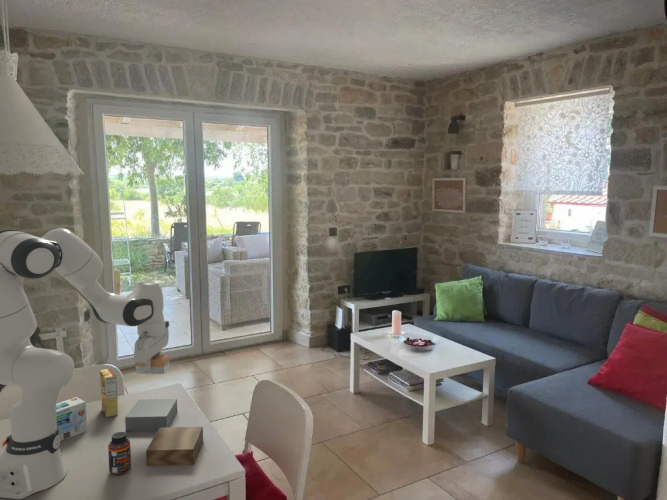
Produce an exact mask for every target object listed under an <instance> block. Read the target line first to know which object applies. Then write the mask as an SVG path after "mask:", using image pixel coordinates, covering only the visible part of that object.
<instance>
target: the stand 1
mask: <svg viewBox="0 0 667 500" xmlns="http://www.w3.org/2000/svg"><path fill="white" fill-rule="evenodd" d="M177 414H178V398H158V399H157V398H156V399H155V398H154V399H153V398H151V399H147V398H146V399H138V400H137V401H136V403H134V405H133V406H132V408H131V409H130V410H129V412H128V413H127V414H126V415H125V417H124V424H125V431H126V432H135V431H138V432H140V431H158V430H159V428H165V427H170V425H171V424H172V422H173V421H174V418H175V417H176V415H177Z"/></svg>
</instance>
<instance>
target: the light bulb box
mask: <svg viewBox="0 0 667 500" xmlns="http://www.w3.org/2000/svg"><path fill="white" fill-rule="evenodd" d="M56 421H57V426H58V428H59V437H60V442H62V441H65V440H67V439H70V438H73V437H75V436H78V435H80V434H83V433H86V432H87V431H88V425H87V423H88V422H87V408H86V401H85V400H83V399H81V398H80V397H78V396H75V397H72V398H69V399H67V400H66V399H65V400H62V401H60V402H56Z"/></svg>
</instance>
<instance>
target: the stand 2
mask: <svg viewBox="0 0 667 500" xmlns="http://www.w3.org/2000/svg"><path fill="white" fill-rule="evenodd" d="M156 431H157V432H156V433H155V435H154V437H153V438H152V440H151V441H150V443H149V444H148V446H147V448H146V449H145V457H146V461H145V462H146V467H154V466H155V467H158V466H159V467H160V466H161V467H162V466H187V465H188V466H191V465H193V466H194V465H195V463H196V460H197V457H198V455H199V452H200V450H201V447H202V444H204V443H203V442H204V427H203V426H179V427H178V426H174V427H173V426H172V427H170V426H169V427H165V428H159V430H156Z"/></svg>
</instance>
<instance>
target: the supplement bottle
mask: <svg viewBox="0 0 667 500" xmlns="http://www.w3.org/2000/svg"><path fill="white" fill-rule="evenodd" d="M110 440H111V441H110V442H108V447H107V448H108V452H107V453H108V469H109V470H108V471H109V474H111V475H112V476H122V475H125V474H126V473H128V472H129V471H130V470H131V468H132V457H131V455H132V454H131V453H132V452H131V441H130V439H129V438H127V433H126V432H125V431H118V432H117V431H116V432H115V433H113V434H112V435H111V438H110Z"/></svg>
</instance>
